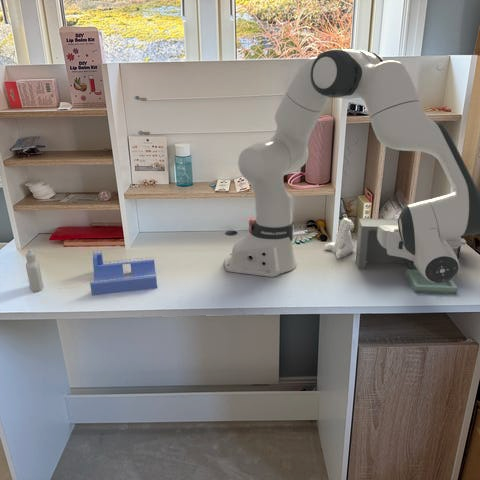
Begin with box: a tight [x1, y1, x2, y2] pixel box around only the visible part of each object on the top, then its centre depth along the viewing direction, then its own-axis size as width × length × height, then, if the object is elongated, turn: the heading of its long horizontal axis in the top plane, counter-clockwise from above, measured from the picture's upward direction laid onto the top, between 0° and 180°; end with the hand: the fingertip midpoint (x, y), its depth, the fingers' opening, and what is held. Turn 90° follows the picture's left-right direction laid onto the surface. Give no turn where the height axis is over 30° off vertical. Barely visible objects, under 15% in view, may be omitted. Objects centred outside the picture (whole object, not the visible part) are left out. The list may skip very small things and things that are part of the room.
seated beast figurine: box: [324, 217, 355, 259], centre depth 154 cm, size 10×9×12 cm
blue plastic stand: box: [89, 250, 158, 296], centre depth 138 cm, size 18×16×7 cm
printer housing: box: [355, 217, 458, 271], centre depth 142 cm, size 28×8×14 cm, turn 83°
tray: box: [405, 269, 458, 295], centre depth 132 cm, size 11×11×2 cm
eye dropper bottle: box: [25, 248, 44, 293], centre depth 132 cm, size 4×6×12 cm
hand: (412, 226), depth 128 cm, fingers closed on supplement bottle, 5 cm apart
